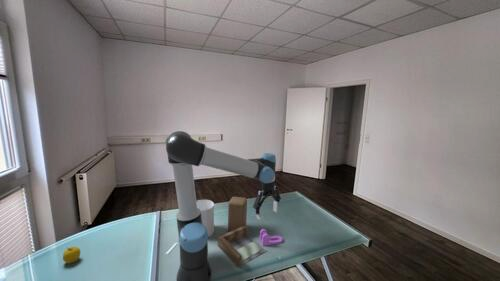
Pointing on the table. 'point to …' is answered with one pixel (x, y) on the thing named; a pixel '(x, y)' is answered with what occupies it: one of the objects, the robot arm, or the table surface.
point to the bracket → (269, 238)
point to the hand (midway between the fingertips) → (267, 215)
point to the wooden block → (237, 213)
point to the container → (207, 214)
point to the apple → (71, 254)
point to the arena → (239, 246)
